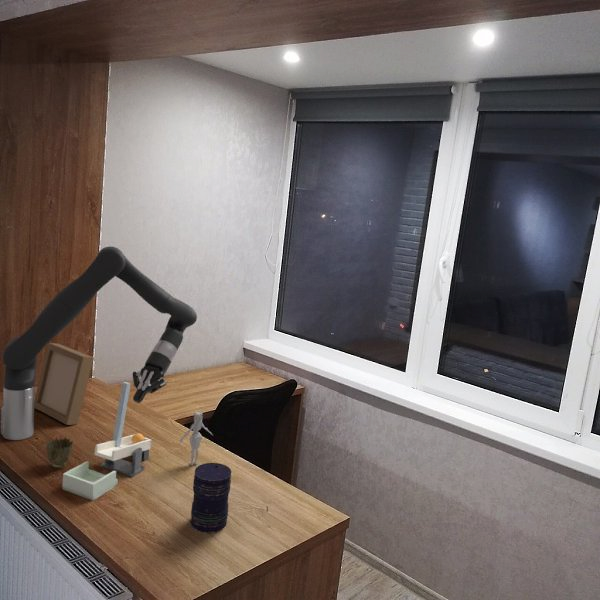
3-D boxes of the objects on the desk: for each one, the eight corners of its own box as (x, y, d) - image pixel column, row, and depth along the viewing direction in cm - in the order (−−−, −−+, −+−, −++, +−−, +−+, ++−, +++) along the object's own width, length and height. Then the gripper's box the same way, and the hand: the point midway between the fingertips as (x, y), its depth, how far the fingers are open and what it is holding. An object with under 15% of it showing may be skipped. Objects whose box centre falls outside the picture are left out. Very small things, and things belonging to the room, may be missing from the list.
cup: (76, 468, 173) (77, 443, 171) (52, 475, 167) (52, 450, 166) (65, 459, 178) (66, 435, 176) (41, 465, 172) (42, 440, 171)
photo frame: (66, 427, 200) (69, 359, 196) (32, 409, 212) (34, 345, 208) (102, 416, 212) (105, 352, 208) (68, 400, 224) (70, 339, 220)
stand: (100, 466, 175) (101, 443, 174) (127, 451, 187) (128, 430, 186) (132, 477, 171) (133, 454, 170) (157, 461, 183) (158, 439, 181)
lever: (91, 454, 168) (103, 384, 168) (130, 442, 185) (140, 379, 185) (115, 462, 165) (127, 391, 165) (152, 449, 182) (163, 385, 181)
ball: (128, 443, 180) (131, 432, 180) (135, 442, 183) (138, 431, 183) (137, 446, 178) (140, 435, 179) (144, 445, 182) (147, 434, 182)
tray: (62, 489, 161) (62, 473, 160) (88, 474, 170) (88, 460, 169) (92, 500, 157) (93, 484, 156) (117, 485, 166) (118, 470, 165)
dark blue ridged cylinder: (220, 536, 147) (225, 483, 144) (184, 529, 148) (188, 476, 145) (231, 516, 156) (236, 466, 154) (198, 509, 158) (202, 459, 155)
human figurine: (207, 458, 188) (211, 407, 185) (213, 463, 185) (217, 411, 182) (174, 466, 180) (178, 413, 177) (180, 471, 177) (184, 418, 174)
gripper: (141, 347, 191) (114, 391, 181) (173, 354, 186) (148, 401, 177) (149, 358, 196) (124, 402, 187) (182, 366, 192) (157, 411, 182)
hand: (136, 401), depth 182 cm, fingers closed
